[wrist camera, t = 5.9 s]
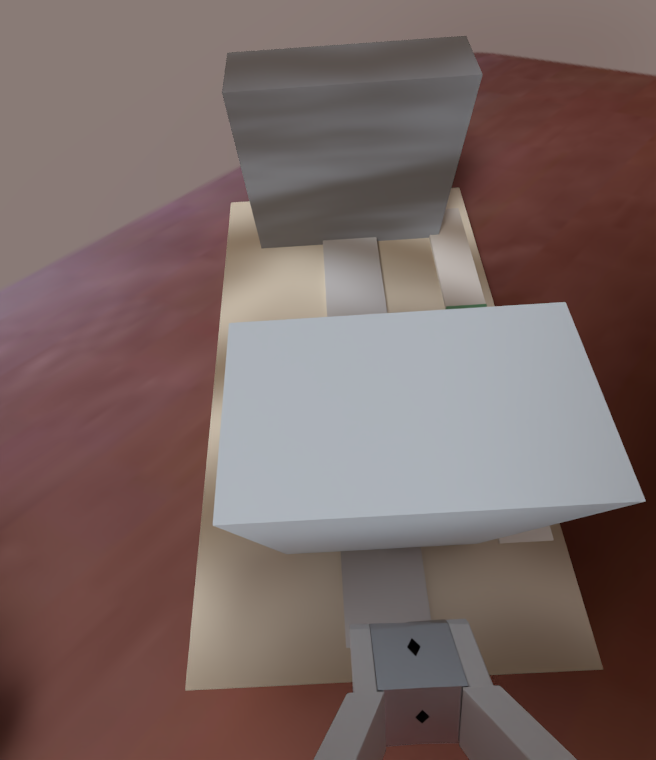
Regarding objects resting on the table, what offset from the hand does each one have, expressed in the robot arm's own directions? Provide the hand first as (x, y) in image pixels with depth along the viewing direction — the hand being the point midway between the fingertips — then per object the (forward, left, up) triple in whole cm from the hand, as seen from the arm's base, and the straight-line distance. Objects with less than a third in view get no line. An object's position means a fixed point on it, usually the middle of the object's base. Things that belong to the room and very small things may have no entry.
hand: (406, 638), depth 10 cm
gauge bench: (-3, -10, -6) cm, 12 cm away
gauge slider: (-4, -4, -4) cm, 7 cm away
